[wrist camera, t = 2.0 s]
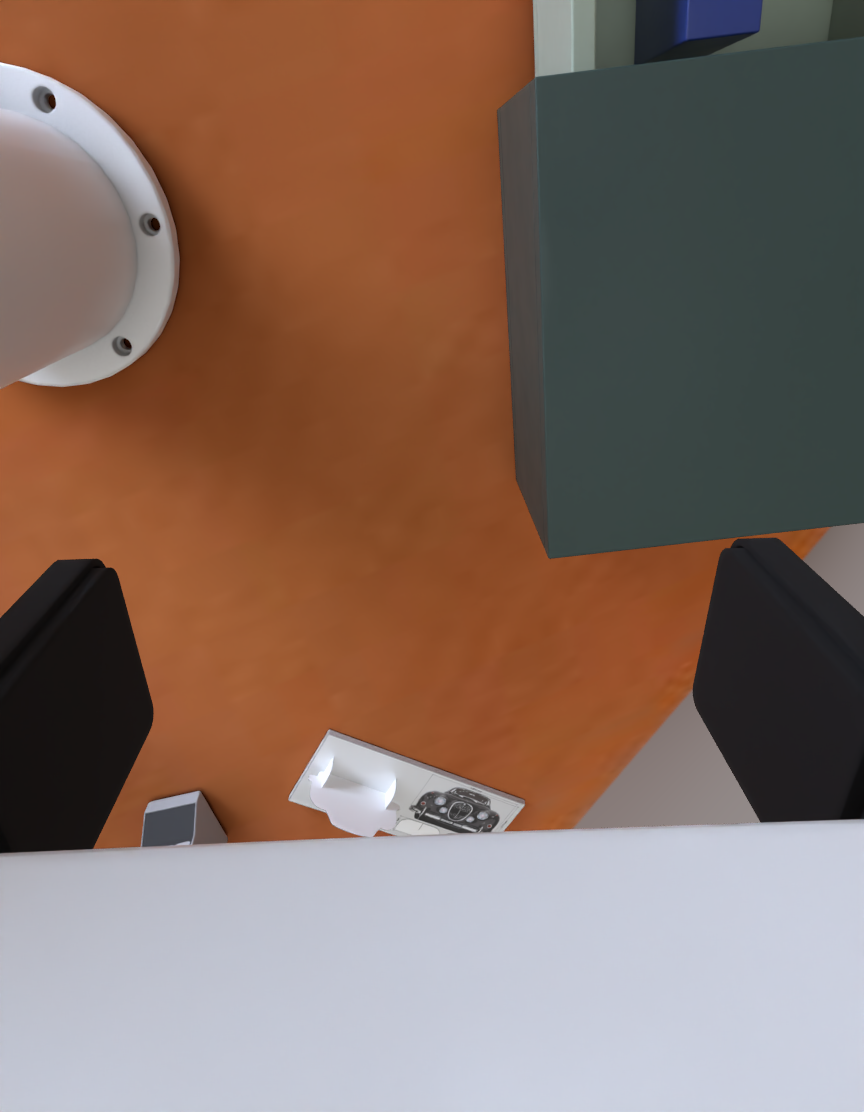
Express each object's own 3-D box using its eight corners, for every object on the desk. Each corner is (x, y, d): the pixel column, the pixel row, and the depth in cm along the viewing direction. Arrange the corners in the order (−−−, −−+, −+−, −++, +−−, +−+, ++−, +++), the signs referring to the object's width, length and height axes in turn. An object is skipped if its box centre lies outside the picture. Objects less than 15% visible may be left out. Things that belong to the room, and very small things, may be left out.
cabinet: (496, 109, 29) (534, 76, 21) (848, 66, 28) (1023, 16, 20) (515, 480, 36) (548, 559, 28) (791, 448, 36) (901, 519, 28)
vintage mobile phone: (201, 787, 46) (19, 1332, 24) (229, 835, 48) (87, 1373, 26) (149, 798, 46) (-77, 1348, 24) (180, 845, 49) (-2, 1387, 27)
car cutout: (289, 795, 47) (279, 851, 43) (328, 729, 44) (321, 782, 40) (477, 857, 51) (483, 913, 47) (524, 799, 48) (535, 854, 44)
